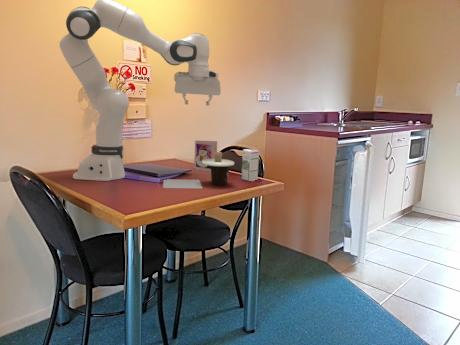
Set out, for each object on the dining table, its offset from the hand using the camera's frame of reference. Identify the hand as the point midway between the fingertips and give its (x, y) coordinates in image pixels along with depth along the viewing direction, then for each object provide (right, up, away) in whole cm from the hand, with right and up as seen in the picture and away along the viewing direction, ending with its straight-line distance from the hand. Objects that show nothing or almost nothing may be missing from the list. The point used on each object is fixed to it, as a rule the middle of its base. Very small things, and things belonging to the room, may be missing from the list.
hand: (197, 104), depth 177 cm
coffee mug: (+9, -36, -4) cm, 38 cm away
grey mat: (-6, -35, -6) cm, 36 cm away
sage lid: (+10, -26, -6) cm, 29 cm away
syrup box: (+24, -34, +11) cm, 43 cm away
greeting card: (+2, -29, +30) cm, 42 cm away
